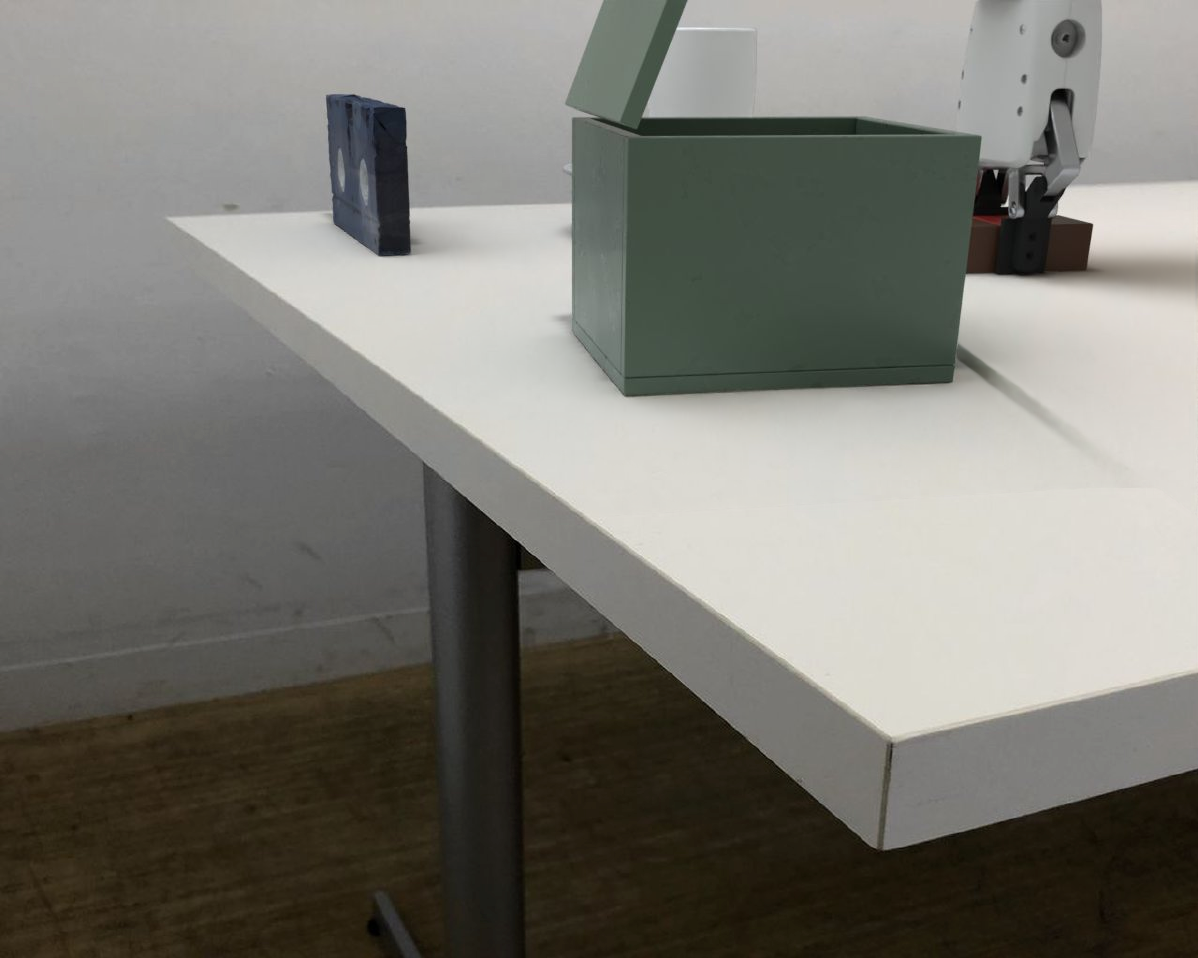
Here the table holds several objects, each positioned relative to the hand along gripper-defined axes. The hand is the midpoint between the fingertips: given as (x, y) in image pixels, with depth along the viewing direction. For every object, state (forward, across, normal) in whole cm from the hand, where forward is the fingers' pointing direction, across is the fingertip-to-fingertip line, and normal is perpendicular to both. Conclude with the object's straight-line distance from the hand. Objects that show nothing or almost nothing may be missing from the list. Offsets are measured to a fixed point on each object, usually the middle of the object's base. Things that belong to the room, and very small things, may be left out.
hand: (999, 271), depth 86 cm
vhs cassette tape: (0, +24, +40) cm, 47 cm away
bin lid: (-18, -19, +27) cm, 38 cm away
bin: (0, -19, +23) cm, 30 cm away
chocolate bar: (0, 0, 0) cm, 0 cm away
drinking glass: (+1, +4, +20) cm, 20 cm away
